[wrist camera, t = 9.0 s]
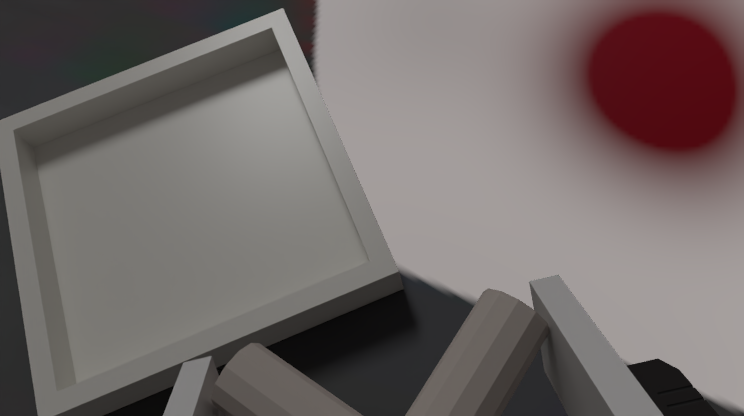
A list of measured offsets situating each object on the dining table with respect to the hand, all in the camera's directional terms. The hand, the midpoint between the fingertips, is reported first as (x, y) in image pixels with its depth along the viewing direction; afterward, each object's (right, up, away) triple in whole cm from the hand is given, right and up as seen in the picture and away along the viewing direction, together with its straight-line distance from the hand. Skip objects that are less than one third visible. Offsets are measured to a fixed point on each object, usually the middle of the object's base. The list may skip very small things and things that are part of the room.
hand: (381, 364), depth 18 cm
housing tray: (-10, +4, +18) cm, 21 cm away
